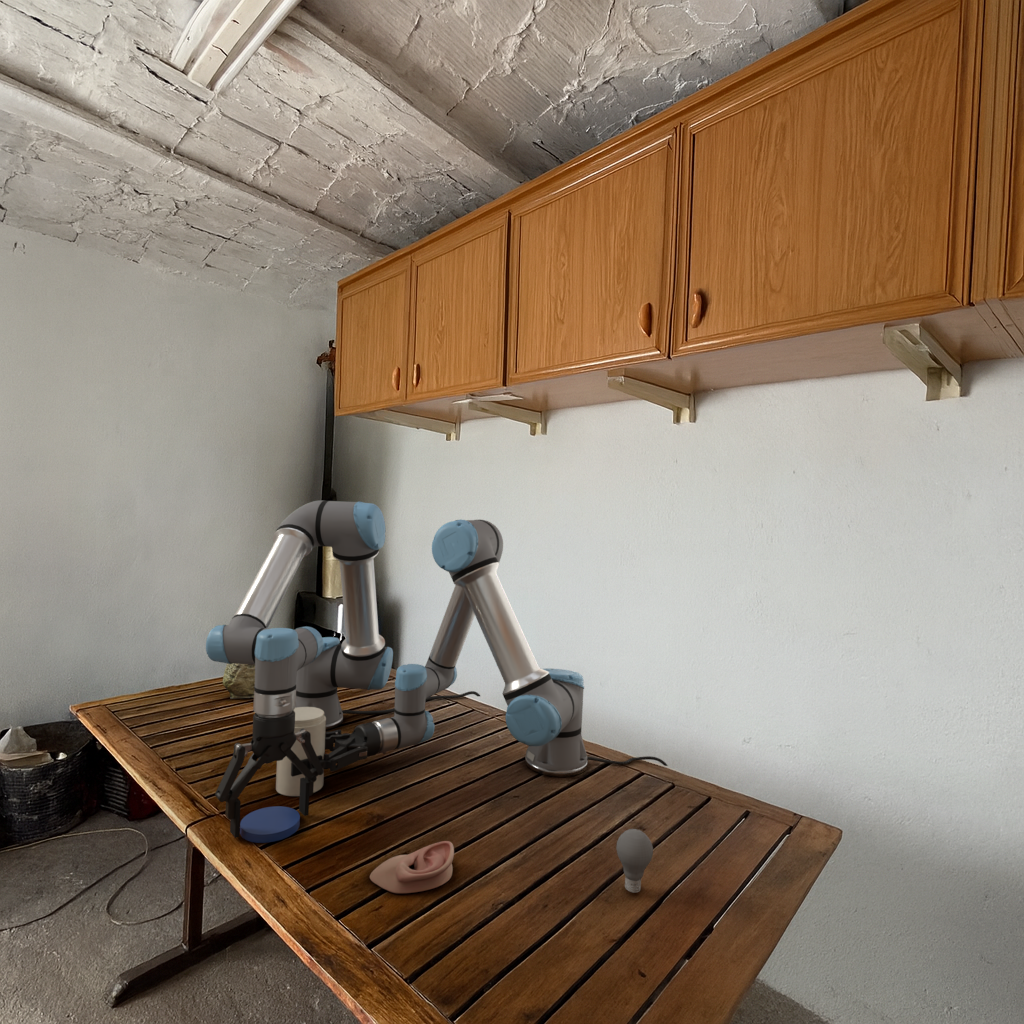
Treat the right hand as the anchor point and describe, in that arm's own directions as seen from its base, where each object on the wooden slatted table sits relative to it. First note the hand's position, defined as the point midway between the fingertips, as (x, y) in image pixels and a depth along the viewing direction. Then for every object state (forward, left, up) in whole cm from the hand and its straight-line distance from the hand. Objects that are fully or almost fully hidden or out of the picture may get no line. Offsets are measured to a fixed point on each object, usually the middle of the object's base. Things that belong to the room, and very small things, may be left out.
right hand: (281, 761), depth 135 cm
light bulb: (-58, +49, -6) cm, 76 cm away
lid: (+1, +15, -5) cm, 16 cm away
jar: (-4, -2, -6) cm, 8 cm away
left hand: (+1, +15, -6) cm, 16 cm away
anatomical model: (-23, +36, -6) cm, 44 cm away
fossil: (+12, -69, -6) cm, 70 cm away
